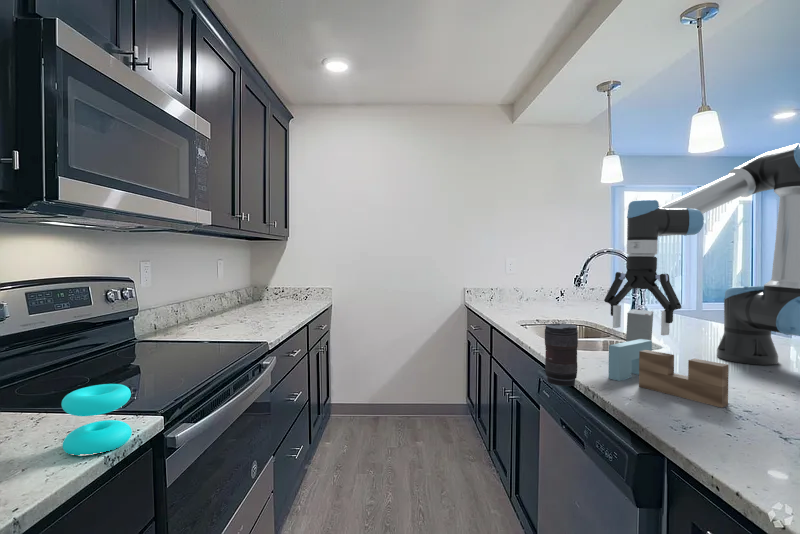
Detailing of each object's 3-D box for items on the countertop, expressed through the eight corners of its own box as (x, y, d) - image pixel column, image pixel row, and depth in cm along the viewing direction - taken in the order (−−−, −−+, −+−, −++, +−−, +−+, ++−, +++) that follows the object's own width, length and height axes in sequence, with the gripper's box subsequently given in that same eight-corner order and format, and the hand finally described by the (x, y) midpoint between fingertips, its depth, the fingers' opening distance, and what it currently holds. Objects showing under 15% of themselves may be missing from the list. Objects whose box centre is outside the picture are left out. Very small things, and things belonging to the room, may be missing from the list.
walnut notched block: (645, 384, 111) (645, 349, 111) (728, 405, 96) (728, 364, 96) (639, 386, 109) (639, 351, 109) (721, 407, 94) (722, 366, 94)
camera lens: (537, 380, 115) (538, 324, 115) (561, 376, 118) (561, 322, 118) (560, 389, 108) (560, 329, 107) (584, 385, 111) (585, 326, 111)
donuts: (107, 399, 71) (45, 399, 71) (108, 459, 72) (47, 460, 71) (142, 381, 81) (88, 382, 81) (143, 434, 82) (89, 434, 81)
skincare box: (628, 357, 140) (628, 308, 140) (653, 360, 136) (654, 310, 136) (623, 362, 134) (624, 311, 133) (650, 366, 129) (651, 313, 129)
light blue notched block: (640, 369, 125) (641, 338, 125) (651, 372, 123) (651, 340, 123) (608, 378, 117) (608, 345, 117) (619, 381, 114) (619, 347, 114)
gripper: (593, 255, 130) (591, 325, 131) (683, 255, 109) (680, 339, 110) (607, 255, 134) (606, 323, 135) (697, 256, 113) (695, 337, 114)
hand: (639, 331), depth 122 cm, fingers open, 13 cm apart
